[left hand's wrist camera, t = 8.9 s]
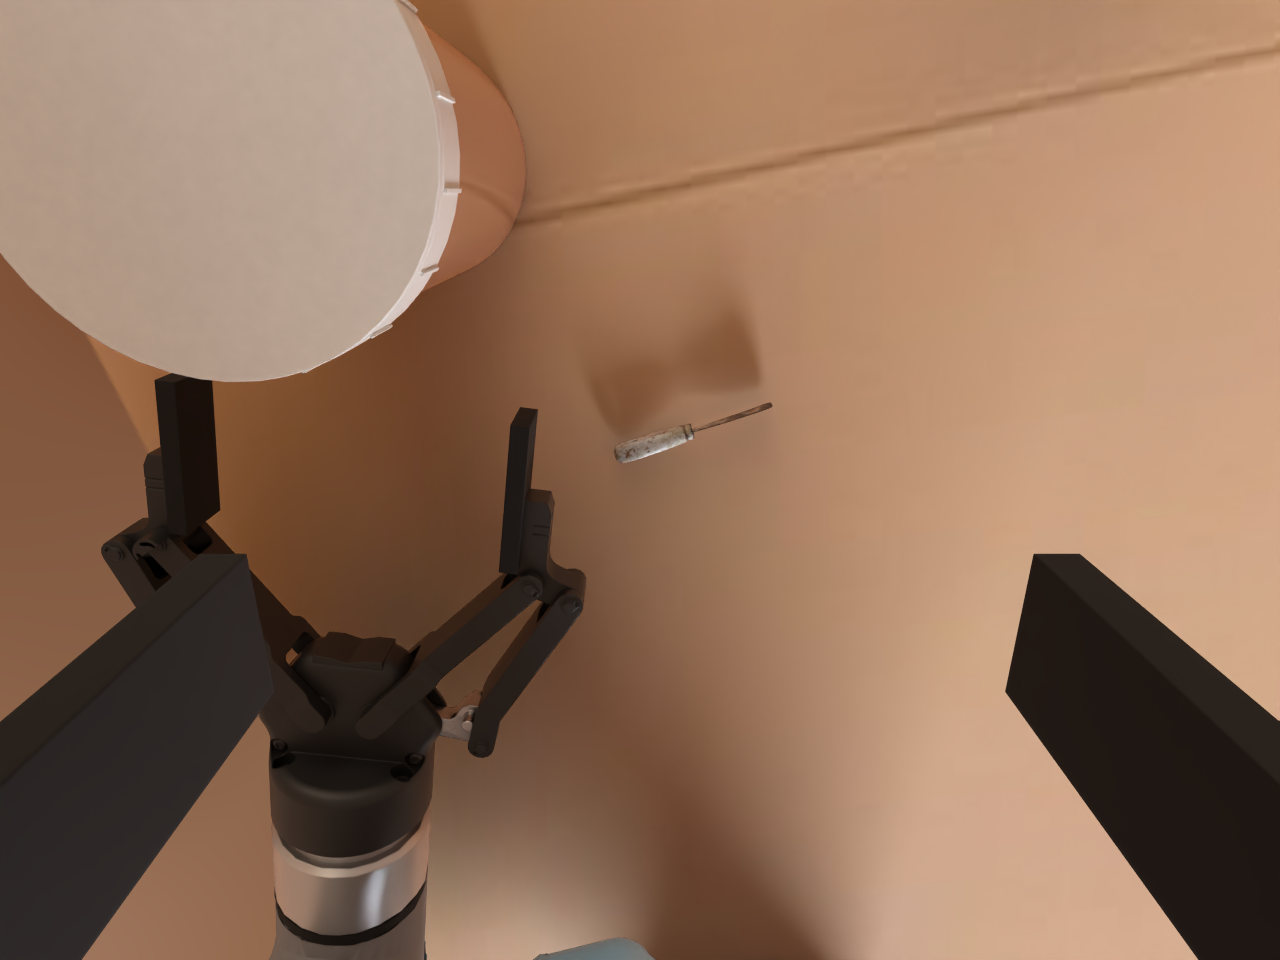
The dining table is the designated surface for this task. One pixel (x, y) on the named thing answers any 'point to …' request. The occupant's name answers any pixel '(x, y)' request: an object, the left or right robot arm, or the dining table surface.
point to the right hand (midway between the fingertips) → (356, 394)
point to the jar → (479, 165)
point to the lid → (225, 174)
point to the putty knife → (669, 438)
